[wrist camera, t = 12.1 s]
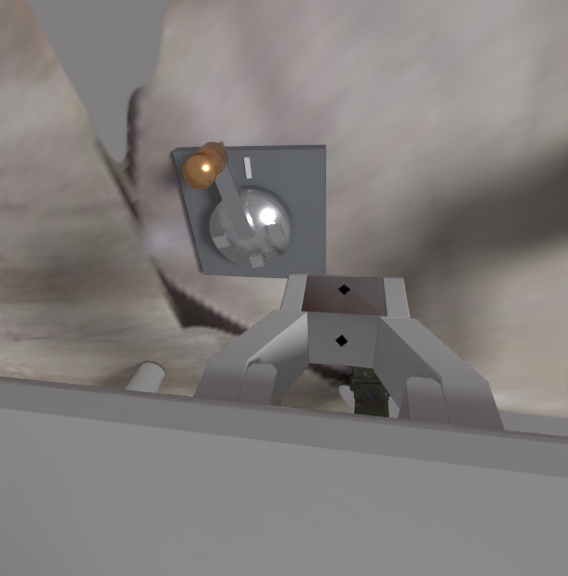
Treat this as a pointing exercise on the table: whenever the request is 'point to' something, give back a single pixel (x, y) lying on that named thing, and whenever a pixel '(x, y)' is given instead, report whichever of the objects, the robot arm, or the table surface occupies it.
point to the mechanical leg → (369, 393)
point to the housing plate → (282, 181)
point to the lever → (240, 210)
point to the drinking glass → (147, 378)
